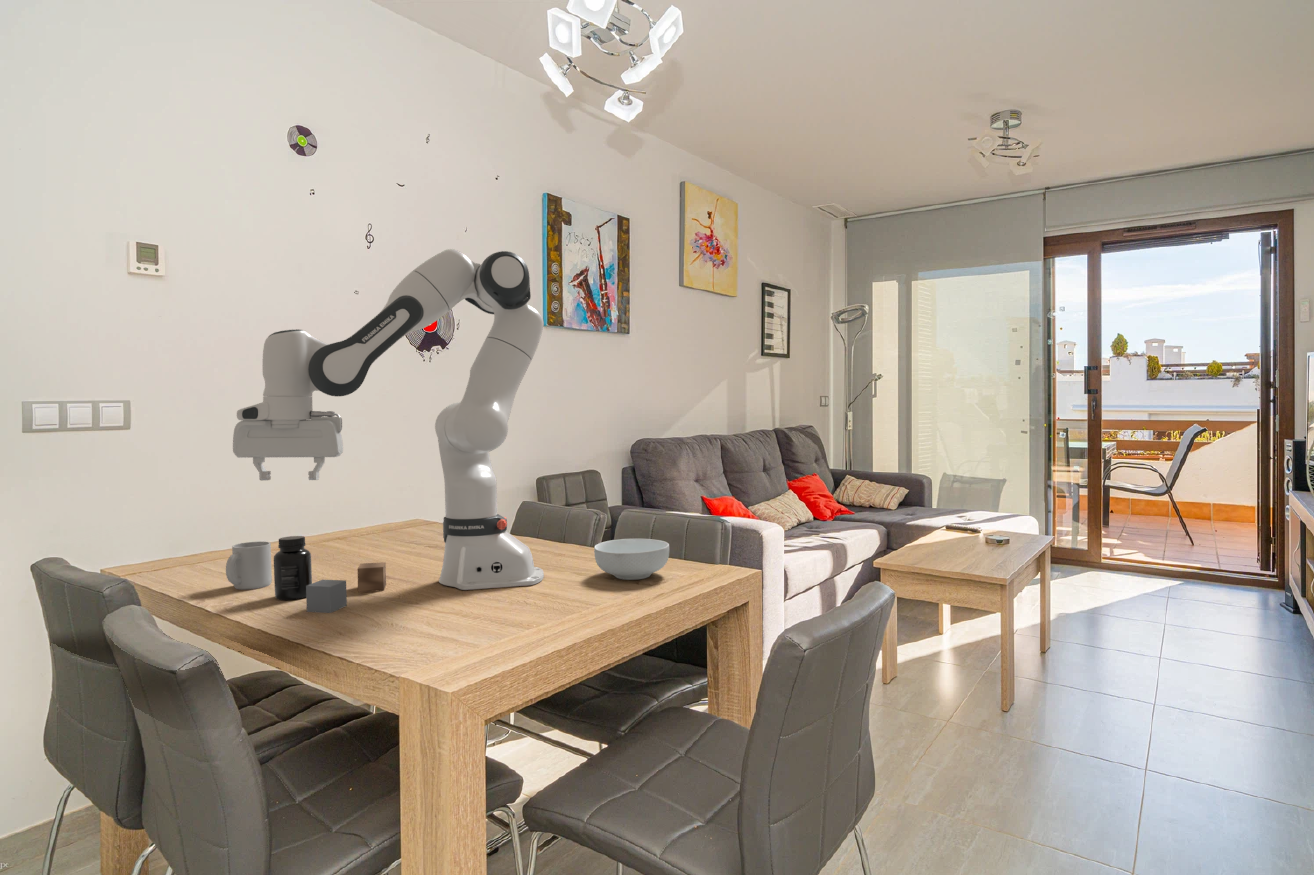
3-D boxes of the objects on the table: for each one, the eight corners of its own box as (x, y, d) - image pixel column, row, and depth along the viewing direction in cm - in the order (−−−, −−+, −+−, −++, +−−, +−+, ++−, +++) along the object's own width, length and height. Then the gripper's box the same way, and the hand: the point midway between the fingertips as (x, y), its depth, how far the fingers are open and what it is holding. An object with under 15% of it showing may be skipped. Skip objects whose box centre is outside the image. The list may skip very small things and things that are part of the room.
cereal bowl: (626, 564, 177) (625, 535, 176) (684, 573, 167) (683, 542, 167) (578, 578, 163) (578, 546, 163) (638, 589, 153) (638, 555, 153)
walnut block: (386, 585, 158) (385, 562, 158) (383, 590, 154) (383, 567, 153) (361, 586, 157) (360, 563, 157) (358, 592, 152) (357, 568, 152)
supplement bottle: (320, 593, 151) (318, 535, 151) (293, 602, 145) (291, 541, 144) (293, 591, 154) (292, 533, 153) (266, 599, 147) (264, 539, 146)
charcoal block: (346, 606, 142) (346, 580, 142) (330, 613, 137) (330, 586, 137) (323, 605, 143) (322, 579, 143) (306, 612, 138) (306, 585, 138)
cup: (279, 582, 161) (278, 542, 160) (241, 594, 151) (240, 551, 151) (253, 580, 163) (251, 540, 162) (214, 592, 153) (212, 549, 153)
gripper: (347, 411, 151) (348, 478, 152) (243, 411, 150) (244, 478, 150) (336, 411, 145) (337, 481, 146) (227, 411, 143) (229, 482, 144)
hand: (289, 480), depth 148 cm, fingers open, 8 cm apart
